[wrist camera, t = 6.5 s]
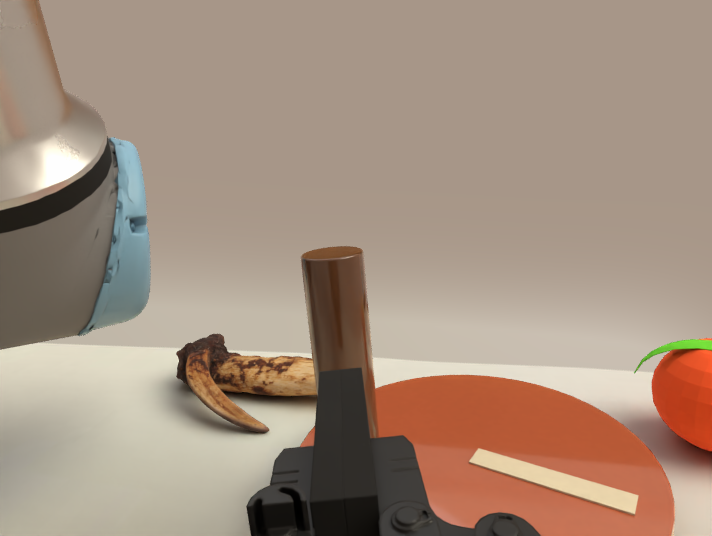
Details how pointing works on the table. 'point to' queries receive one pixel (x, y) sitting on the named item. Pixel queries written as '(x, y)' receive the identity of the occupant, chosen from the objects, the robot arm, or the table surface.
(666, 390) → the clementine
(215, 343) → the lashed bone hook
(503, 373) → the table surface
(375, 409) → the orange disc
